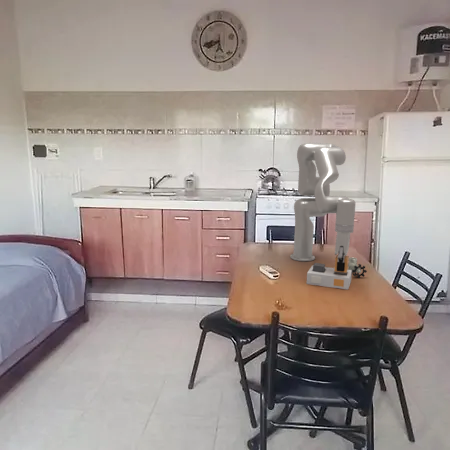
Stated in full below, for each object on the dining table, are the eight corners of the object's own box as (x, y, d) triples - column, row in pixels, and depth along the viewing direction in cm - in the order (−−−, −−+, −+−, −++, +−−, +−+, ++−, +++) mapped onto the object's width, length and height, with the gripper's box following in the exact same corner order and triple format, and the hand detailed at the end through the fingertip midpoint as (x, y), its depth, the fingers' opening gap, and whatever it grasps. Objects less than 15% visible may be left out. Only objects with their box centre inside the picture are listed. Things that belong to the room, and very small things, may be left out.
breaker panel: (311, 275, 199) (312, 265, 198) (351, 281, 193) (351, 270, 192) (306, 284, 188) (307, 273, 186) (348, 289, 181) (349, 278, 180)
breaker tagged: (335, 280, 191) (336, 270, 190) (346, 281, 190) (346, 271, 189) (334, 283, 187) (334, 273, 186) (345, 284, 186) (345, 274, 185)
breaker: (314, 272, 194) (314, 262, 193) (324, 273, 192) (325, 264, 192) (312, 275, 190) (313, 265, 189) (322, 276, 188) (323, 266, 187)
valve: (343, 270, 208) (351, 278, 197) (344, 257, 207) (353, 264, 195) (357, 270, 209) (366, 278, 197) (358, 257, 207) (367, 264, 196)
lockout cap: (335, 268, 190) (337, 252, 189) (347, 269, 189) (348, 253, 187) (334, 271, 186) (335, 255, 184) (346, 272, 184) (347, 256, 183)
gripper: (337, 223, 193) (334, 262, 196) (332, 231, 177) (329, 273, 181) (355, 225, 190) (352, 265, 194) (351, 232, 174) (348, 276, 178)
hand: (341, 268), depth 187 cm, fingers closed on lockout cap, 5 cm apart
